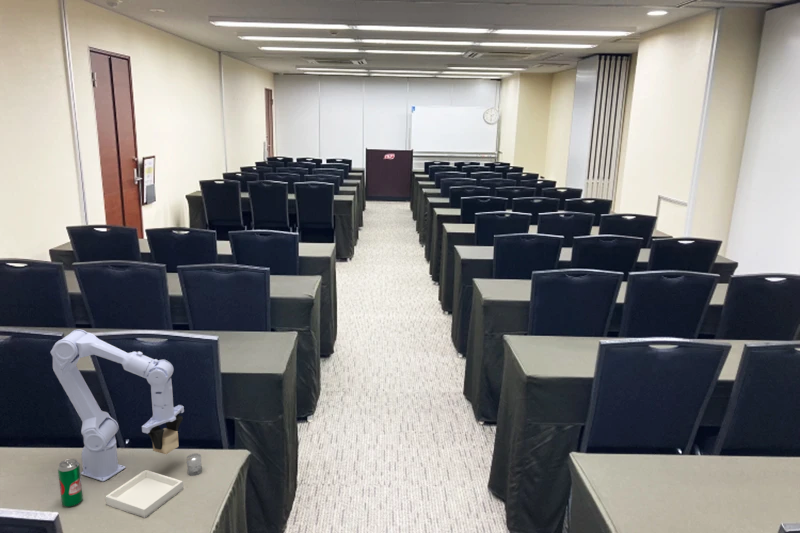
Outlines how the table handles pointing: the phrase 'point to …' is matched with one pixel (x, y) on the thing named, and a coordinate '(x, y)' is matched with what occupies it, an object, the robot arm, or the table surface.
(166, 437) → the birch block
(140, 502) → the tray
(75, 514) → the table surface
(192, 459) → the metal canister
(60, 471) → the soda can
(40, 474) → the table surface
